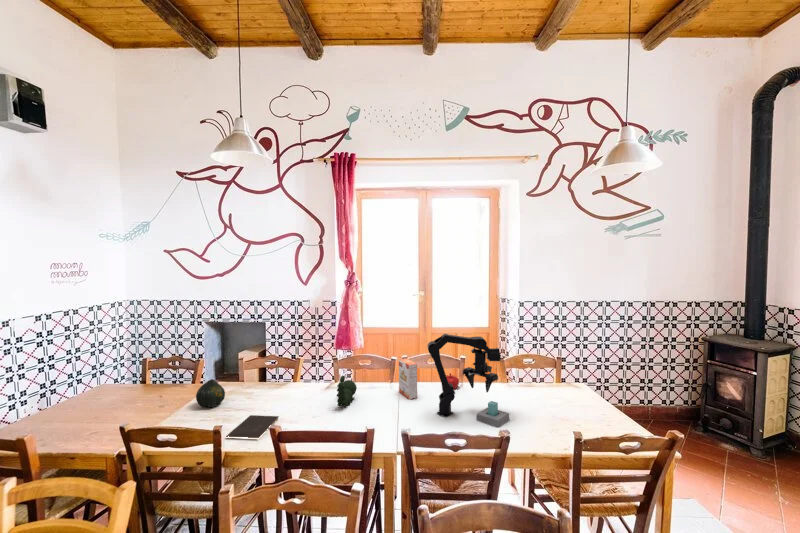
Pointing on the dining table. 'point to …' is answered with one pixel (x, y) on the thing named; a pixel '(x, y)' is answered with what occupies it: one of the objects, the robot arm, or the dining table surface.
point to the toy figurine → (345, 391)
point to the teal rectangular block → (493, 408)
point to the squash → (210, 394)
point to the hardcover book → (253, 426)
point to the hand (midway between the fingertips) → (479, 390)
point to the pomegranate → (453, 380)
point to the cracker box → (408, 378)
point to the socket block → (492, 418)
